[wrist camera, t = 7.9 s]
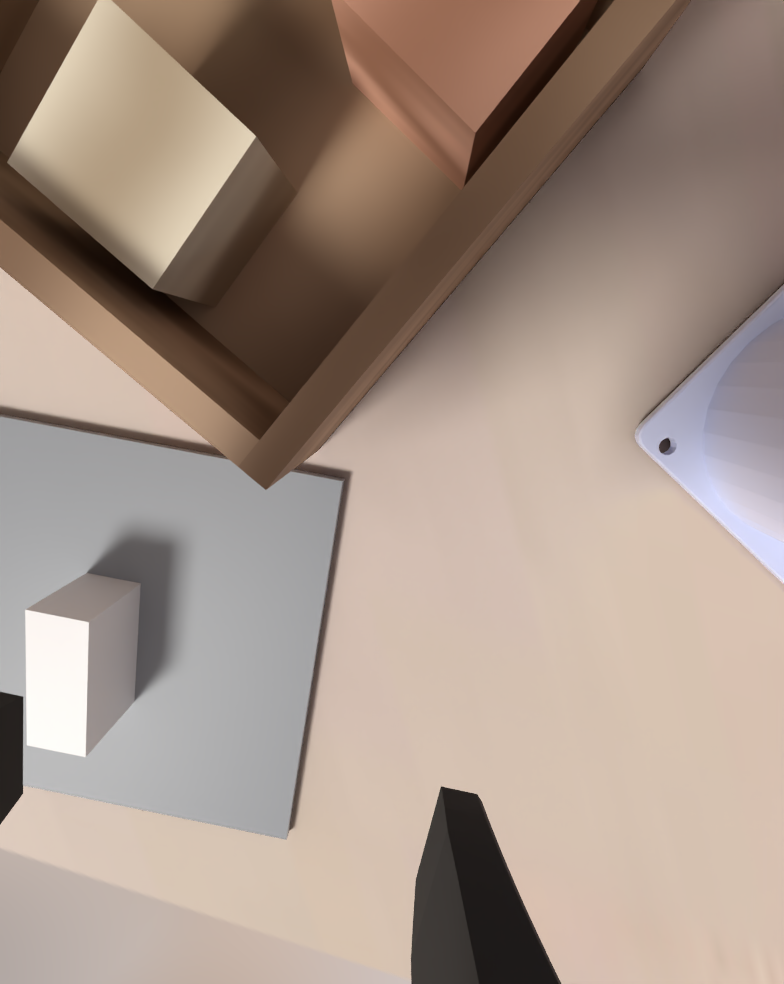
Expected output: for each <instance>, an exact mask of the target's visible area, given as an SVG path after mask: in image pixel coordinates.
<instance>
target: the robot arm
mask: <svg viewBox="0 0 784 984" xmlns="http://www.w3.org/2000/svg"><path fill="white" fill-rule="evenodd" d="M665 438H669V440H670V447H669V449H668V450H667V451H665V452H664V453H661V452H660V451H659V444H660V442H661V441H662V440H664V439H665ZM635 440H636V442H637V444H638V445H639V446H640V447H641V448H642V449H643V450H644V451H645V452H646V453H647V454H648V455H649V456H650V457H651V458H652V459H653V460H654V461H655V462H656V463H657V464H658V465H659V466H660V467H661V468H663V469H664V470H665V471H666V472H667V473H668V474H669V475H670V476H671V477H672V478H673V479H674V480H675V481H676V482H677V483H678V484H679V485H680V486H681V487H682V488H683V489H684V490H685V491H687V492H688V493H689V494H690V495H691V496H692V497H693V498H694V499H695V500H696V501H697V502H698V503H699V504H700V505H701V506H702V507H703V508H704V509H705V510H706V511H707V512H708V513H710V514H711V515H712V516H713V517H714V518H715V519H716V520H717V521H718V522H719V523H720V524H721V525H722V526H723V527H724V528H725V529H726V530H727V531H728V532H729V533H730V534H731V535H733V536H734V537H735V538H736V539H737V540H738V541H739V542H740V543H741V544H742V545H743V546H744V547H745V548H746V549H747V550H748V551H749V552H750V553H751V554H752V555H753V556H754V557H756V558H757V559H758V560H759V561H760V562H761V563H762V564H763V565H764V566H765V567H766V568H767V569H768V570H769V571H770V572H771V573H772V574H773V575H774V576H775V577H776V578H777V579H779V580H780V581H781V582H782V583H783V584H784V284H783V285H782V286H781V287H780V288H779V289H778V290H777V291H776V292H775V293H774V294H773V295H772V296H771V297H770V298H769V299H768V300H767V301H766V302H765V303H764V304H763V305H762V306H761V307H760V308H759V309H758V310H757V311H756V312H754V313H753V314H752V315H751V316H750V317H749V318H748V319H747V320H746V321H745V322H744V323H743V324H742V325H741V326H740V327H739V328H738V329H737V330H736V331H735V332H734V333H733V334H732V335H731V336H730V337H729V338H728V339H727V340H726V341H725V342H724V343H723V344H722V345H720V346H719V347H718V348H717V349H716V350H715V351H714V352H713V353H712V354H711V355H710V356H709V357H708V358H707V359H706V360H705V361H704V362H703V363H702V364H701V365H700V366H699V367H698V368H697V369H696V370H695V371H694V372H693V373H692V374H691V375H690V376H689V377H688V378H686V379H685V380H684V381H683V382H682V383H681V384H680V385H679V386H678V387H677V388H676V389H675V390H674V391H673V392H672V393H671V394H670V395H669V396H668V397H667V398H666V399H665V400H664V401H663V402H662V403H661V404H660V405H659V406H658V407H657V408H656V409H655V410H654V411H653V412H651V413H650V414H649V415H648V416H647V417H646V418H645V419H644V420H643V421H642V422H641V423H640V424H639V426H638V427H637V429H636V432H635ZM22 794H23V696H18V695H13V694H9V693H4V692H0V824H1V823H2V821H3V820H4V819H5V817H6V816H7V815H8V813H9V812H10V810H11V809H12V808H13V806H14V805H15V804H16V802H17V801H18V800H19V798H20V797H21V795H22ZM411 977H412V984H561V982H560V980H559V978H558V976H557V974H556V972H555V970H554V968H553V966H552V964H551V962H550V960H549V958H548V955H547V953H546V951H545V949H544V947H543V945H542V943H541V940H540V938H539V936H538V934H537V932H536V930H535V927H534V925H533V923H532V921H531V919H530V917H529V915H528V912H527V910H526V908H525V906H524V904H523V901H522V899H521V897H520V895H519V892H518V890H517V888H516V885H515V883H514V881H513V878H512V876H511V874H510V871H509V869H508V867H507V864H506V862H505V859H504V857H503V855H502V852H501V850H500V847H499V845H498V842H497V840H496V837H495V835H494V832H493V830H492V827H491V825H490V822H489V819H488V817H487V814H486V812H485V809H484V806H483V804H482V801H481V800H480V798H479V797H478V795H477V794H473V793H469V792H464V791H459V790H455V789H450V788H445V787H441V789H440V792H439V796H438V800H437V804H436V807H435V811H434V815H433V818H432V822H431V826H430V829H429V833H428V837H427V840H426V844H425V848H424V852H423V855H422V859H421V863H420V866H419V870H418V874H417V877H416V886H415V902H414V917H413V934H412V952H411Z"/></svg>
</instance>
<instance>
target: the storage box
mask: <svg viewBox="0 0 784 984" xmlns="http://www.w3.org/2000/svg"><path fill="white" fill-rule="evenodd" d="M97 1H98V0H0V267H1V268H2V269H3V270H4V271H5V272H6V273H8V274H9V275H10V276H11V277H12V278H14V279H15V280H16V281H17V282H18V283H20V284H21V285H22V286H23V287H24V288H26V289H27V290H28V291H29V292H30V293H32V294H33V295H34V296H35V297H36V298H37V299H39V300H40V301H41V302H42V303H43V304H45V305H46V306H47V307H48V308H49V309H51V310H52V311H53V312H54V313H55V314H57V315H58V316H59V317H60V318H61V319H62V320H64V321H65V322H66V323H67V324H68V325H70V326H71V327H72V328H73V329H74V330H76V331H77V332H78V333H79V334H80V335H82V336H83V337H84V338H85V339H86V340H88V341H89V342H90V343H91V344H92V345H93V346H95V347H96V348H97V349H98V350H99V351H101V352H102V353H103V354H104V355H105V356H107V357H108V358H109V359H110V360H111V361H113V362H114V363H115V364H116V365H117V366H118V367H120V368H121V369H122V370H123V371H124V372H126V373H127V374H128V375H129V376H130V377H132V378H133V379H134V380H135V381H136V382H138V383H139V384H140V385H141V386H142V387H144V388H145V389H146V390H147V391H148V392H149V393H151V394H152V395H153V396H154V397H155V398H157V399H158V400H159V401H160V402H161V403H163V404H164V405H165V406H166V407H167V408H169V409H170V410H171V411H172V412H173V413H174V414H176V415H177V416H178V417H179V418H180V419H182V420H183V421H184V422H185V423H186V424H188V425H189V426H190V427H191V428H192V429H194V430H195V431H196V432H197V433H198V434H199V435H201V436H202V437H203V438H204V439H205V440H207V441H208V442H209V443H210V444H211V445H213V446H214V447H215V448H216V449H217V450H219V451H220V452H221V453H222V454H223V455H225V456H226V457H227V458H228V459H229V460H230V461H232V462H233V463H234V464H235V465H236V466H238V467H239V468H240V469H241V470H242V471H244V472H245V473H246V474H247V475H248V476H250V477H251V478H252V479H253V480H254V481H255V482H257V483H258V484H259V485H260V486H261V487H263V488H264V489H265V490H267V489H268V488H269V487H271V486H272V485H273V484H275V483H276V482H277V481H279V480H280V479H281V478H283V477H284V476H285V475H287V474H288V473H289V472H290V471H292V470H293V469H294V468H296V467H297V466H298V465H300V464H301V463H302V462H304V461H305V460H306V459H308V458H309V457H310V456H311V455H313V454H314V453H315V452H317V451H318V450H319V449H320V447H321V446H322V445H323V444H324V443H325V442H326V440H327V439H328V438H329V437H330V436H331V434H332V433H333V432H334V431H335V430H336V429H337V427H338V426H339V425H340V424H341V423H342V421H343V420H344V419H345V418H346V417H347V416H348V414H349V413H350V412H351V411H352V410H353V409H354V407H355V406H356V405H357V404H358V403H359V401H360V400H361V399H362V398H363V397H364V396H365V394H366V393H367V392H368V391H369V390H370V388H371V387H372V386H373V385H374V384H375V383H376V381H377V380H378V379H379V378H380V377H381V376H382V374H383V373H384V372H385V371H386V370H387V368H388V367H389V366H390V365H391V364H392V363H393V361H394V360H395V359H396V358H397V357H398V356H399V354H400V353H401V352H402V351H403V350H404V348H405V347H406V346H407V345H408V344H409V343H410V341H411V340H412V339H413V338H414V337H415V335H416V334H417V333H418V332H419V331H420V330H421V328H422V327H423V326H424V325H425V324H426V323H427V321H428V320H429V319H430V318H431V317H432V315H433V314H434V313H435V312H436V311H437V310H438V308H439V307H440V306H441V305H442V304H443V302H444V301H445V300H446V299H447V298H448V297H449V295H450V294H451V293H452V292H453V291H454V290H455V288H456V287H457V286H458V285H459V284H460V282H461V281H462V280H463V279H464V278H465V277H466V275H467V274H468V273H469V272H470V271H471V269H472V268H473V267H474V266H475V265H476V264H477V262H478V261H479V260H480V259H481V258H482V257H483V255H484V254H485V253H486V252H487V251H488V249H489V248H490V247H491V246H492V245H493V244H494V242H495V241H496V240H497V239H498V238H499V236H500V235H501V234H502V233H503V232H504V231H505V229H506V228H507V227H508V226H509V225H510V224H511V222H512V221H513V220H514V219H515V218H516V216H517V215H518V214H519V213H520V212H521V211H522V209H523V208H524V207H525V206H526V205H527V204H528V202H529V201H530V200H531V199H532V198H533V196H534V195H535V194H536V193H537V192H538V191H539V189H540V188H541V187H542V186H543V185H544V183H545V182H546V181H547V180H548V179H549V178H550V176H551V175H552V174H553V173H554V172H555V171H556V169H557V168H558V167H559V166H560V165H561V163H562V162H563V161H564V160H565V159H566V158H567V156H568V155H569V154H570V153H571V152H572V150H573V149H574V148H575V147H576V146H577V145H578V143H579V142H580V141H581V140H582V139H583V138H584V136H585V135H586V134H587V133H588V132H589V130H590V129H591V128H592V127H593V126H594V125H595V123H596V122H597V121H598V120H599V119H600V117H601V116H602V115H603V114H604V113H605V112H606V110H607V109H608V108H609V107H610V106H611V105H612V103H613V102H614V101H615V100H616V99H617V97H618V96H619V95H620V94H621V93H622V92H623V90H624V89H625V88H626V87H627V86H628V84H629V83H630V82H631V81H632V80H633V79H634V77H635V76H636V75H637V74H638V73H639V72H640V70H641V69H642V68H643V67H644V65H645V64H646V62H647V61H648V60H649V58H650V57H651V56H652V54H653V53H654V51H655V50H656V49H657V47H658V46H659V44H660V43H661V42H662V40H663V39H664V38H665V36H666V35H667V33H668V32H669V31H670V29H671V28H672V26H673V25H674V24H675V22H676V21H677V20H678V18H679V17H680V15H681V14H682V13H683V11H684V10H685V8H686V7H687V6H688V4H689V3H690V2H691V0H598V1H597V3H596V5H595V7H594V9H593V12H592V14H591V16H590V18H589V20H588V22H587V24H586V27H585V29H584V31H583V33H582V35H581V37H580V39H579V42H578V44H577V46H576V48H575V50H574V51H573V53H572V54H571V55H570V56H569V58H568V59H567V60H566V61H565V62H564V64H563V65H562V66H561V67H560V69H559V70H558V71H557V72H556V74H555V75H554V76H553V77H552V79H551V80H550V81H549V82H548V84H547V85H546V86H545V87H544V88H543V90H542V91H541V92H540V93H539V95H538V96H537V97H536V98H535V100H534V101H533V102H532V103H531V105H530V106H529V107H528V108H527V110H526V111H525V112H524V113H523V114H522V116H521V117H520V118H519V119H518V121H517V122H516V123H515V124H514V126H513V127H512V128H511V129H510V131H509V132H508V133H507V134H506V136H505V137H504V138H503V139H502V140H501V142H500V143H499V144H498V145H497V147H496V148H495V149H494V150H493V152H492V153H491V154H490V155H489V157H488V158H487V159H486V160H485V162H484V163H483V164H482V165H481V166H480V168H479V169H478V170H477V171H476V173H475V174H474V175H473V176H472V178H471V179H470V180H469V181H468V183H467V184H466V185H465V186H464V188H463V189H462V190H460V189H459V188H458V187H457V186H456V185H455V184H454V183H453V182H452V181H451V180H450V179H449V178H448V177H447V176H446V175H445V174H444V173H443V172H442V171H441V170H440V169H439V168H438V167H437V166H436V165H435V164H434V163H433V162H432V161H431V160H430V159H429V158H428V157H427V156H426V155H425V154H424V153H423V152H422V151H421V150H420V149H419V148H418V147H417V146H416V145H415V144H414V143H413V142H412V141H411V140H410V139H409V138H407V137H406V136H405V135H404V134H403V133H402V132H401V131H400V130H399V129H398V128H397V127H396V126H395V125H394V124H393V123H392V122H391V121H390V120H389V119H388V118H387V117H386V116H385V115H384V114H383V113H382V112H381V111H380V110H379V109H378V108H377V107H376V106H375V105H374V104H373V103H372V102H371V101H370V100H369V99H368V98H367V97H366V96H365V95H364V94H363V93H362V92H361V91H360V90H359V89H358V88H357V87H356V86H355V85H354V84H353V83H352V79H351V75H350V71H349V67H348V64H347V60H346V56H345V52H344V48H343V44H342V40H341V36H340V32H339V28H338V24H337V20H336V16H335V12H334V9H333V5H332V1H331V0H112V1H113V2H114V3H115V4H116V5H117V6H118V7H119V8H120V9H121V10H122V11H123V12H125V13H126V14H127V15H128V16H129V17H130V18H131V19H132V20H133V21H134V22H135V23H136V24H137V25H138V26H139V27H140V28H142V29H143V30H144V31H145V32H146V33H147V34H148V35H149V36H150V37H151V38H152V39H153V40H154V41H155V42H156V43H157V44H159V45H160V46H161V47H162V48H163V49H164V50H165V51H166V52H167V53H168V54H169V55H170V56H171V57H172V58H173V59H174V60H176V61H177V62H178V63H179V64H180V65H181V66H182V67H183V68H184V69H185V70H186V71H187V72H188V73H189V74H190V75H192V76H193V77H194V78H195V79H196V80H197V81H198V82H199V83H200V84H201V85H202V86H203V87H204V88H205V89H206V90H207V91H209V92H210V93H211V94H212V95H213V96H214V97H215V98H216V99H217V100H218V101H219V102H220V103H221V104H222V105H223V106H224V107H226V108H227V109H228V110H229V111H230V112H231V113H232V114H233V115H234V116H235V117H236V118H237V119H238V120H239V121H240V122H241V123H243V124H244V125H245V126H246V127H247V128H248V129H249V130H250V131H251V132H252V133H253V134H254V135H255V136H256V137H257V138H258V139H259V141H260V142H261V144H262V145H263V146H264V148H265V149H266V150H267V152H268V153H269V155H270V156H271V157H272V159H273V160H274V162H275V163H276V164H277V166H278V167H279V168H280V170H281V171H282V173H283V174H284V175H285V177H286V178H287V179H288V181H289V182H290V184H291V185H292V186H293V188H294V189H295V190H296V192H297V195H296V196H295V198H294V199H293V200H292V202H291V203H290V204H289V206H288V207H287V209H286V210H285V211H284V213H283V214H282V216H281V217H280V218H279V220H278V221H277V222H276V224H275V225H274V227H273V228H272V229H271V231H270V232H269V234H268V235H267V236H266V238H265V239H264V240H263V242H262V243H261V245H260V246H259V247H258V249H257V250H256V252H255V253H254V254H253V256H252V257H251V258H250V260H249V261H248V263H247V264H246V265H245V267H244V268H243V270H242V271H241V272H240V274H239V275H238V276H237V278H236V279H235V281H234V282H233V283H232V285H231V286H230V288H229V289H228V290H227V292H226V293H225V295H224V296H223V297H222V299H221V300H220V301H219V303H218V304H217V306H216V307H212V306H208V305H205V304H202V303H198V302H195V301H191V300H188V299H184V298H181V297H178V296H174V295H171V294H167V293H164V292H160V291H157V290H154V289H152V288H151V287H149V286H148V285H147V284H146V283H145V282H144V281H142V280H141V279H140V278H139V277H138V276H137V275H136V274H134V273H133V272H132V271H131V270H130V269H129V268H128V267H126V266H125V265H124V264H123V263H122V262H121V261H119V260H118V259H117V258H116V257H115V256H114V255H113V254H111V253H110V252H109V251H108V250H107V249H106V248H105V247H103V246H102V245H101V244H100V243H99V242H98V241H96V240H95V239H94V238H93V237H92V236H91V235H90V234H88V233H87V232H86V231H85V230H84V229H83V228H82V227H80V226H79V225H78V224H77V223H76V222H75V221H73V220H72V219H71V218H70V217H69V216H68V215H67V214H65V213H64V212H63V211H62V210H61V209H60V208H59V207H57V206H56V205H55V204H54V203H53V202H52V201H50V200H49V199H48V198H47V197H46V196H45V195H44V194H42V193H41V192H40V191H39V190H38V189H37V188H36V187H34V186H33V185H32V184H31V183H30V182H29V181H27V180H26V179H25V178H24V177H23V176H22V175H21V174H19V173H18V172H17V171H16V170H15V169H14V168H13V167H11V166H10V165H9V164H8V163H7V162H8V160H9V158H10V156H11V155H12V153H13V151H14V149H15V147H16V146H17V144H18V142H19V140H20V139H21V137H22V135H23V133H24V131H25V130H26V128H27V126H28V124H29V122H30V121H31V119H32V117H33V115H34V113H35V112H36V110H37V108H38V106H39V105H40V103H41V101H42V99H43V97H44V96H45V94H46V92H47V90H48V88H49V87H50V85H51V83H52V81H53V79H54V78H55V76H56V74H57V72H58V70H59V69H60V67H61V65H62V63H63V62H64V60H65V58H66V56H67V54H68V53H69V51H70V49H71V47H72V45H73V44H74V42H75V40H76V38H77V36H78V35H79V33H80V31H81V29H82V28H83V26H84V24H85V22H86V20H87V19H88V17H89V15H90V13H91V11H92V10H93V8H94V6H95V4H96V2H97Z"/></svg>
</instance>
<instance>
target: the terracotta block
mask: <svg viewBox="0 0 784 984" xmlns="http://www.w3.org/2000/svg"><path fill="white" fill-rule="evenodd" d="M331 1H332V5H333V9H334V12H335V16H336V20H337V24H338V28H339V32H340V36H341V40H342V44H343V48H344V52H345V56H346V60H347V64H348V67H349V71H350V75H351V79H352V83H353V84H354V85H355V86H356V87H357V88H358V89H359V90H360V91H361V92H362V93H363V94H364V95H365V96H366V97H367V98H368V99H369V100H370V101H371V102H372V103H373V104H374V105H375V106H376V107H377V108H378V109H379V110H380V111H381V112H382V113H383V114H384V115H385V116H386V117H387V118H388V119H389V120H390V121H391V122H392V123H393V124H394V125H395V126H396V127H397V128H398V129H399V130H400V131H401V132H402V133H403V134H404V135H405V136H406V137H407V138H409V139H410V140H411V141H412V142H413V143H414V144H415V145H416V146H417V147H418V148H419V149H420V150H421V151H422V152H423V153H424V154H425V155H426V156H427V157H428V158H429V159H430V160H431V161H432V162H433V163H434V164H435V165H436V166H437V167H438V168H439V169H440V170H441V171H442V172H443V173H444V174H445V175H446V176H447V177H448V178H449V179H450V180H451V181H452V182H453V183H454V184H455V185H456V186H457V187H458V188H459V189H460V190H462V189H463V188H464V186H465V185H466V184H467V183H468V181H469V180H470V179H471V178H472V176H473V175H474V174H475V173H476V171H477V170H478V169H479V168H480V166H481V165H482V164H483V163H484V162H485V160H486V159H487V158H488V157H489V155H490V154H491V153H492V152H493V150H494V149H495V148H496V147H497V145H498V144H499V143H500V142H501V140H502V139H503V138H504V137H505V136H506V134H507V133H508V132H509V131H510V129H511V128H512V127H513V126H514V124H515V123H516V122H517V121H518V119H519V118H520V117H521V116H522V114H523V113H524V112H525V111H526V110H527V108H528V107H529V106H530V105H531V103H532V102H533V101H534V100H535V98H536V97H537V96H538V95H539V93H540V92H541V91H542V90H543V88H544V87H545V86H546V85H547V84H548V82H549V81H550V80H551V79H552V77H553V76H554V75H555V74H556V72H557V71H558V70H559V69H560V67H561V66H562V65H563V64H564V62H565V61H566V60H567V59H568V58H569V56H570V55H571V54H572V53H573V51H574V50H575V48H576V46H577V44H578V42H579V39H580V37H581V35H582V33H583V31H584V29H585V27H586V24H587V22H588V20H589V18H590V16H591V14H592V12H593V9H594V7H595V5H596V3H597V1H598V0H331Z"/></svg>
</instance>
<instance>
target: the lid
mask: <svg viewBox="0 0 784 984" xmlns="http://www.w3.org/2000/svg"><path fill="white" fill-rule="evenodd" d="M343 485H344V479H343V478H338V477H333V476H327V475H322V474H317V473H312V472H306V471H301V470H296V469H293V470H292V471H290V472H289V473H288V474H287V475H285V476H284V477H283V478H281V479H280V480H279V481H277V482H276V483H275V484H273V485H272V486H271V487H269V488H268V489H267V490H265V489H264V488H263V487H261V486H260V485H259V484H258V483H257V482H255V481H254V480H253V479H252V478H251V477H250V476H248V475H247V474H246V473H245V472H244V471H242V470H241V469H240V468H239V467H238V466H236V465H235V464H234V463H233V462H232V461H230V460H229V459H228V458H227V457H226V456H221V455H216V454H211V453H205V452H200V451H195V450H190V449H184V448H179V447H174V446H168V445H163V444H158V443H152V442H147V441H142V440H137V439H131V438H126V437H121V436H115V435H110V434H105V433H99V432H94V431H89V430H83V429H78V428H73V427H68V426H62V425H57V424H52V423H46V422H41V421H36V420H30V419H25V418H20V417H15V416H9V415H4V414H0V692H4V693H9V694H13V695H18V696H23V786H28V787H32V788H37V789H42V790H47V791H52V792H57V793H62V794H67V795H71V796H76V797H81V798H86V799H91V800H96V801H101V802H106V803H110V804H115V805H120V806H125V807H130V808H135V809H140V810H145V811H149V812H154V813H159V814H164V815H169V816H174V817H179V818H183V819H188V820H193V821H198V822H203V823H208V824H213V825H218V826H222V827H227V828H232V829H237V830H242V831H247V832H252V833H257V834H261V835H266V836H271V837H276V838H281V839H286V840H287V836H288V833H289V829H290V822H291V816H292V809H293V803H294V797H295V790H296V784H297V778H298V771H299V765H300V758H301V752H302V746H303V739H304V733H305V727H306V720H307V714H308V707H309V701H310V695H311V688H312V682H313V676H314V669H315V663H316V657H317V650H318V644H319V637H320V631H321V625H322V618H323V612H324V606H325V599H326V593H327V586H328V580H329V574H330V567H331V561H332V555H333V548H334V542H335V536H336V529H337V523H338V516H339V510H340V504H341V497H342V491H343Z"/></svg>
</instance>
